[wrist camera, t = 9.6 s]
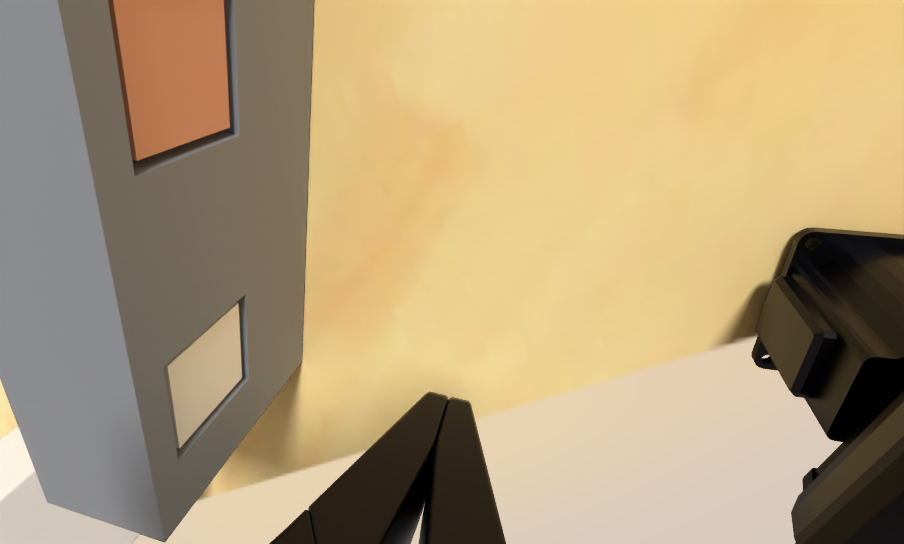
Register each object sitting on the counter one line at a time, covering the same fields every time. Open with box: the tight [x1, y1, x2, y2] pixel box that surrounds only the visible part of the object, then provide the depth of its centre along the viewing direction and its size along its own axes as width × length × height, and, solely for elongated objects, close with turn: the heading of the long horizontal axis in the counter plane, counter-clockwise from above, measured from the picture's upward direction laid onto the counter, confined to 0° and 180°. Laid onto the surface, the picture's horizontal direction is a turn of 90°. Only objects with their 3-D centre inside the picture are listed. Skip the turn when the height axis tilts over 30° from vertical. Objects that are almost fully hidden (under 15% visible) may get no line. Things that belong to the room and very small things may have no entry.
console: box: [0, 0, 314, 542], centre depth 18 cm, size 5×22×11 cm, turn 169°
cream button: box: [164, 303, 242, 448], centre depth 19 cm, size 2×4×4 cm, turn 169°
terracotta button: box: [108, 0, 230, 161], centre depth 13 cm, size 2×4×4 cm, turn 169°
